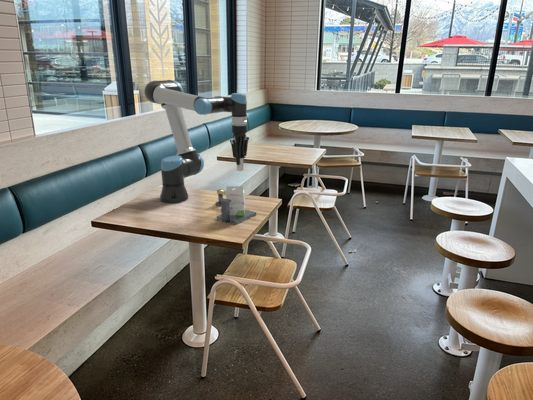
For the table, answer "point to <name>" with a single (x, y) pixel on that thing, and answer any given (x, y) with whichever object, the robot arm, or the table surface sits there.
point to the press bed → (228, 218)
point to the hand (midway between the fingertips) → (240, 170)
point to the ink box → (236, 200)
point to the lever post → (218, 200)
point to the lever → (221, 192)
